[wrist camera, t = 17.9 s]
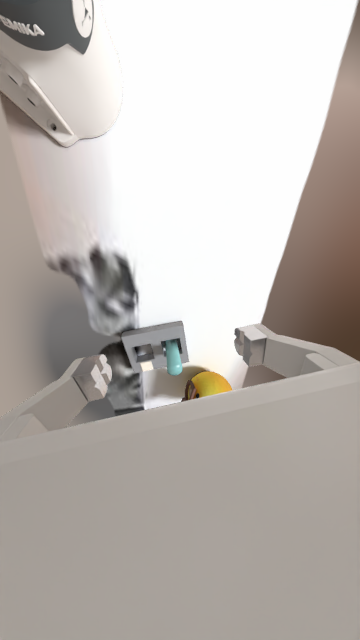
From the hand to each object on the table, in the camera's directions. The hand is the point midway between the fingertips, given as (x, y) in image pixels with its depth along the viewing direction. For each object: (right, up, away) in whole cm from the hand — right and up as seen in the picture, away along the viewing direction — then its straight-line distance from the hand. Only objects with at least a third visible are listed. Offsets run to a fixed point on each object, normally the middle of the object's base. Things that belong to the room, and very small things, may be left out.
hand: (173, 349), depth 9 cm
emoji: (+8, -19, +45) cm, 49 cm away
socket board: (-6, -6, +36) cm, 37 cm away
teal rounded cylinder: (-2, -5, +36) cm, 37 cm away
